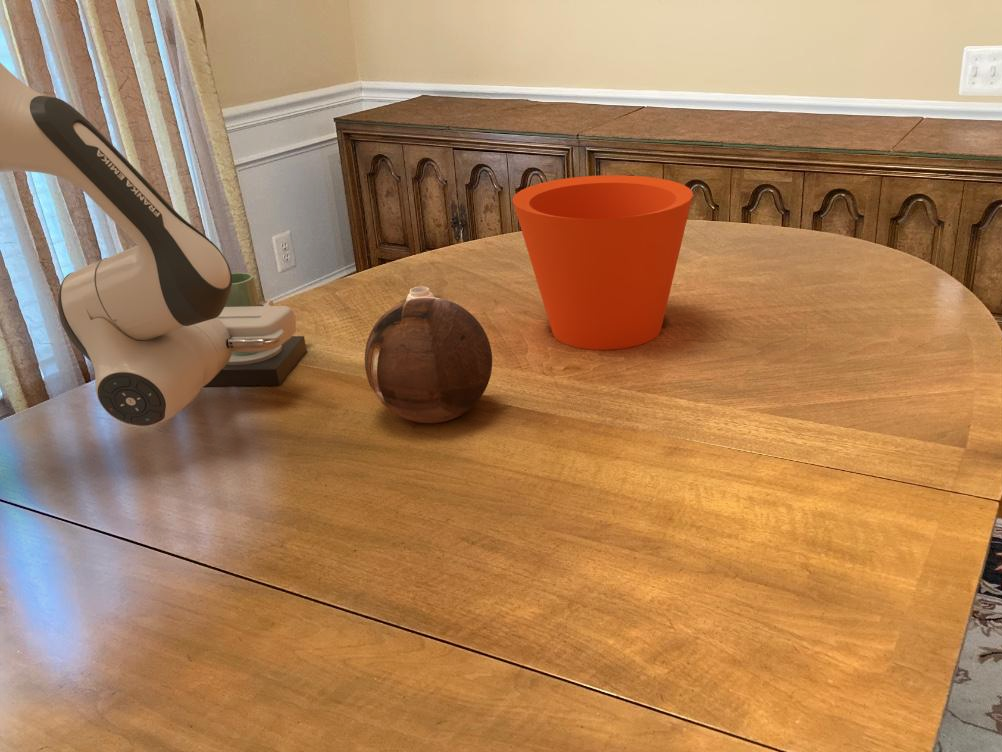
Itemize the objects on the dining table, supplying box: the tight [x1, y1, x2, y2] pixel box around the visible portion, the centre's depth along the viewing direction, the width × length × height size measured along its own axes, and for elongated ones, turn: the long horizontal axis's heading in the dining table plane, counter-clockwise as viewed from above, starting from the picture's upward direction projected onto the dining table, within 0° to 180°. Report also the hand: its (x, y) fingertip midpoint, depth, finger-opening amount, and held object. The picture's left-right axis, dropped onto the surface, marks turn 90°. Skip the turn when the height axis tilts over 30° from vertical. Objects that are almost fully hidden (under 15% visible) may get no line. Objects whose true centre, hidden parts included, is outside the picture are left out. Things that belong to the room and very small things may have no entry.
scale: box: [204, 335, 308, 387], centre depth 135 cm, size 12×12×3 cm
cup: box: [225, 271, 260, 356], centre depth 132 cm, size 5×5×10 cm
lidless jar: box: [405, 286, 435, 301], centre depth 155 cm, size 5×3×5 cm
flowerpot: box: [512, 174, 694, 351], centre depth 140 cm, size 25×25×20 cm
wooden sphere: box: [364, 296, 493, 424], centre depth 117 cm, size 15×15×15 cm
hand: (233, 306), depth 130 cm, fingers open, 8 cm apart
